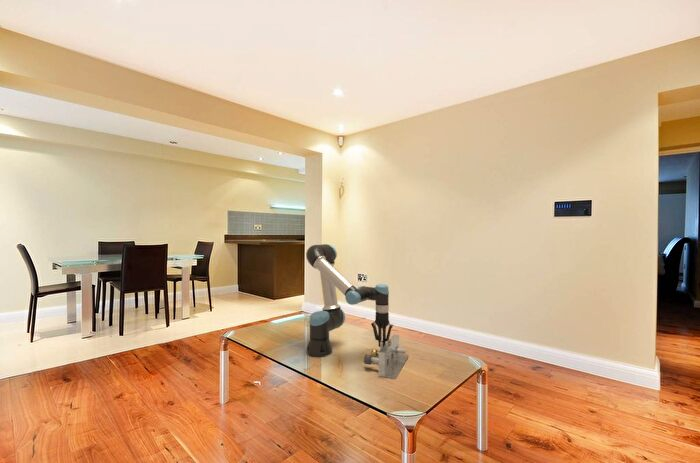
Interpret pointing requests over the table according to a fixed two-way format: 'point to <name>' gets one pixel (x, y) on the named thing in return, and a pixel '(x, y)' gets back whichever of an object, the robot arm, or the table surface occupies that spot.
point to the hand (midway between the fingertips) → (382, 352)
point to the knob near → (370, 359)
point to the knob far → (400, 350)
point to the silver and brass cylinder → (374, 353)
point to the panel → (391, 359)
